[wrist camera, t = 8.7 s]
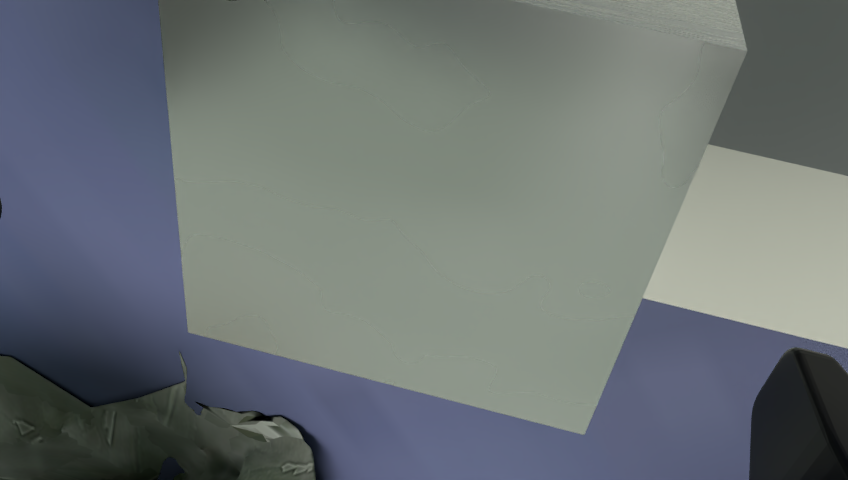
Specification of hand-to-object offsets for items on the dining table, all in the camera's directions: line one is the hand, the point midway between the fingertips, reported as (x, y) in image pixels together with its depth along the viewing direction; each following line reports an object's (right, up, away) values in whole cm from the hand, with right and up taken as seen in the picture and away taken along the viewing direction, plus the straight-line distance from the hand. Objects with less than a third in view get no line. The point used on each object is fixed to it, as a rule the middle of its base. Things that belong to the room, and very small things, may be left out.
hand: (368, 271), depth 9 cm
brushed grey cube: (+2, +4, +6) cm, 7 cm away
